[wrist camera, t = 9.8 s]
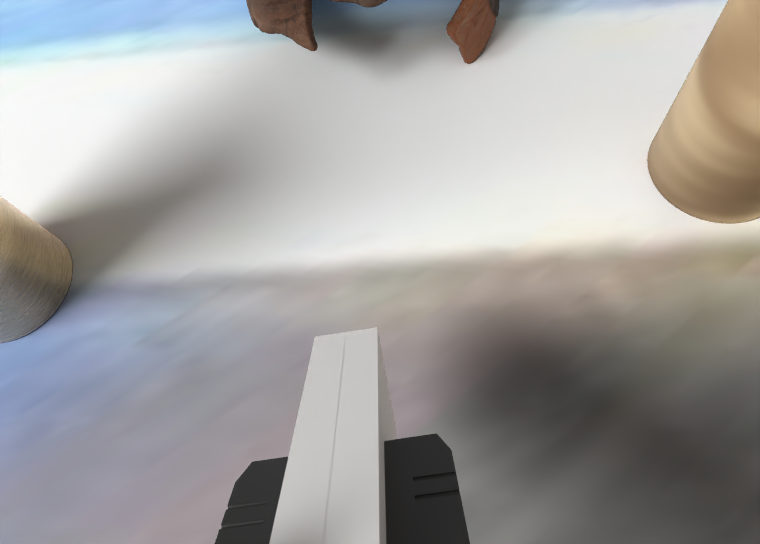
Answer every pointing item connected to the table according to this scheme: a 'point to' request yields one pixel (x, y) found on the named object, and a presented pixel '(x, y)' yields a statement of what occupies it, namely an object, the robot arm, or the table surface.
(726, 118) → the oak collar post
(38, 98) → the table surface
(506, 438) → the table surface
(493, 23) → the broken brown pot
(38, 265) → the aperture bracket
